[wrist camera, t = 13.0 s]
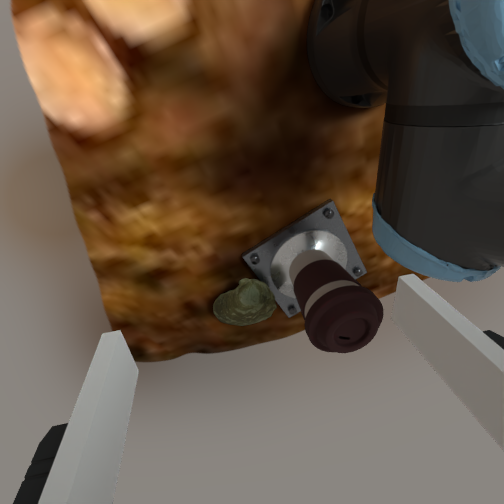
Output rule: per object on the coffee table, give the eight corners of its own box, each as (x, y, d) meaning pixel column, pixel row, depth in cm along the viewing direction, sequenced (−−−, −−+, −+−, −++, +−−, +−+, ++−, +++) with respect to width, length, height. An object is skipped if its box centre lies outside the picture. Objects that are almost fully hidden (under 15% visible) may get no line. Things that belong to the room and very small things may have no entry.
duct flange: (330, 198, 44) (334, 202, 42) (364, 269, 52) (368, 274, 50) (241, 254, 46) (243, 259, 44) (287, 314, 54) (289, 320, 52)
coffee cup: (321, 228, 44) (374, 285, 31) (347, 270, 49) (402, 334, 36) (268, 265, 46) (298, 333, 33) (298, 301, 51) (334, 373, 38)
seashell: (216, 333, 51) (223, 335, 41) (207, 292, 52) (211, 285, 43) (271, 318, 53) (288, 317, 44) (260, 280, 55) (276, 270, 45)
